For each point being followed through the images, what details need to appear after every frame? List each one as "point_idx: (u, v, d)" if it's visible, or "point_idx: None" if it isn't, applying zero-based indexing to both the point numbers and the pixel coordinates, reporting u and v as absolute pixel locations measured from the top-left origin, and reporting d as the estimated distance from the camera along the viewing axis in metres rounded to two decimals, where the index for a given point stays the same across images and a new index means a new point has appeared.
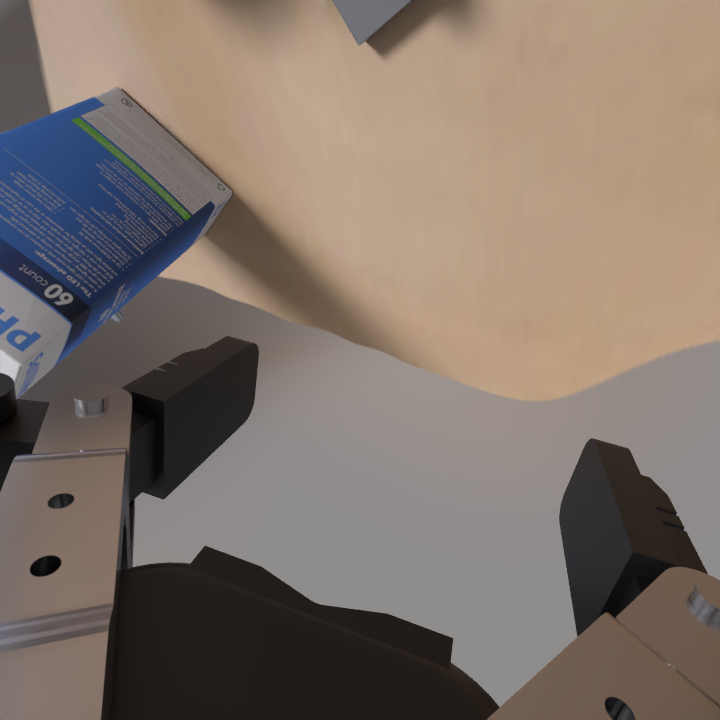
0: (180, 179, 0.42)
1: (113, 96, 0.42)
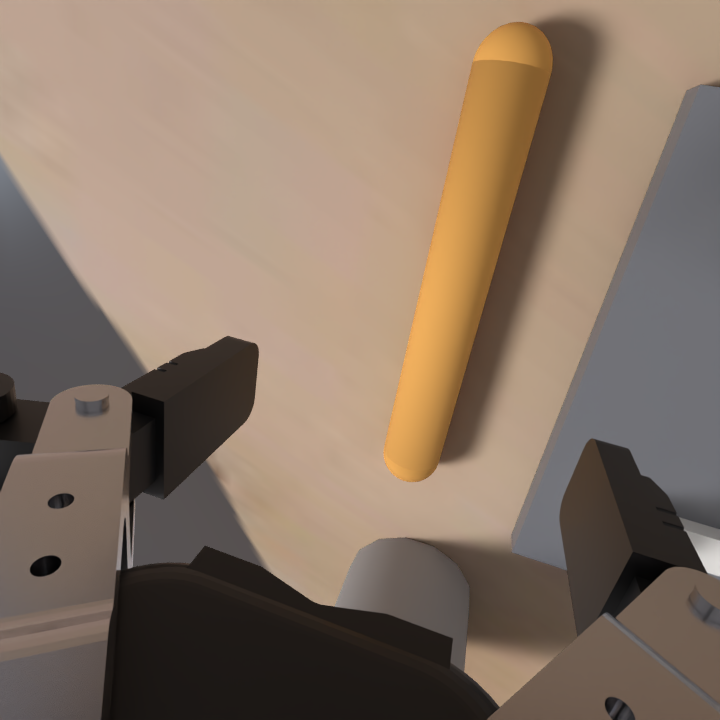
0: None
1: None
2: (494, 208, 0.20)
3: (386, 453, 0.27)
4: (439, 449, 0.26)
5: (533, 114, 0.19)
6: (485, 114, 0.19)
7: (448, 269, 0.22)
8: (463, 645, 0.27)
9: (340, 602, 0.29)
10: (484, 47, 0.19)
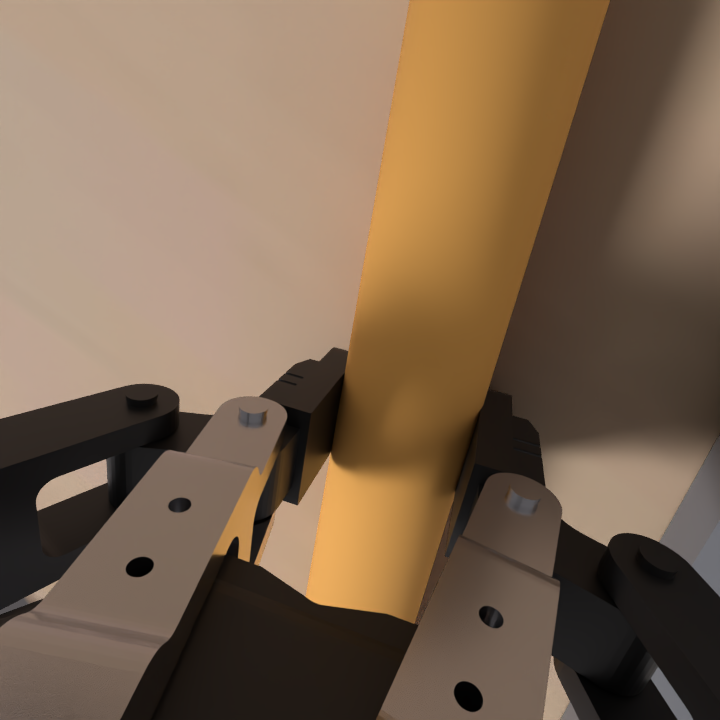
0: None
1: None
2: (487, 261, 0.08)
3: None
4: None
5: (592, 18, 0.07)
6: (463, 14, 0.07)
7: (384, 396, 0.10)
8: None
9: None
10: None
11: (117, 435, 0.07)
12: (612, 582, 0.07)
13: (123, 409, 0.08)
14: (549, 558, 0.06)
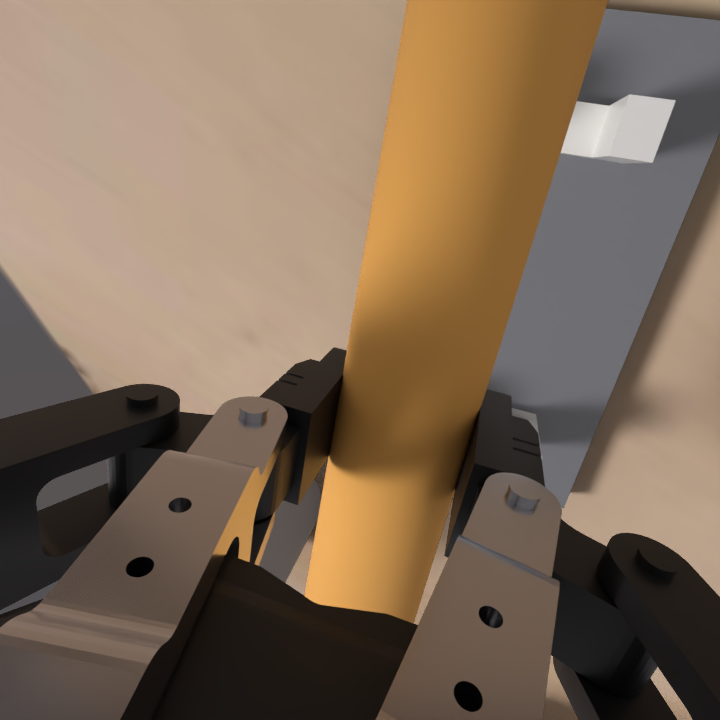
0: None
1: None
2: (484, 263, 0.08)
3: None
4: None
5: (589, 20, 0.07)
6: (460, 17, 0.07)
7: (381, 398, 0.10)
8: (294, 526, 0.30)
9: None
10: None
11: (117, 435, 0.07)
12: (612, 582, 0.07)
13: (123, 409, 0.08)
14: (549, 558, 0.06)
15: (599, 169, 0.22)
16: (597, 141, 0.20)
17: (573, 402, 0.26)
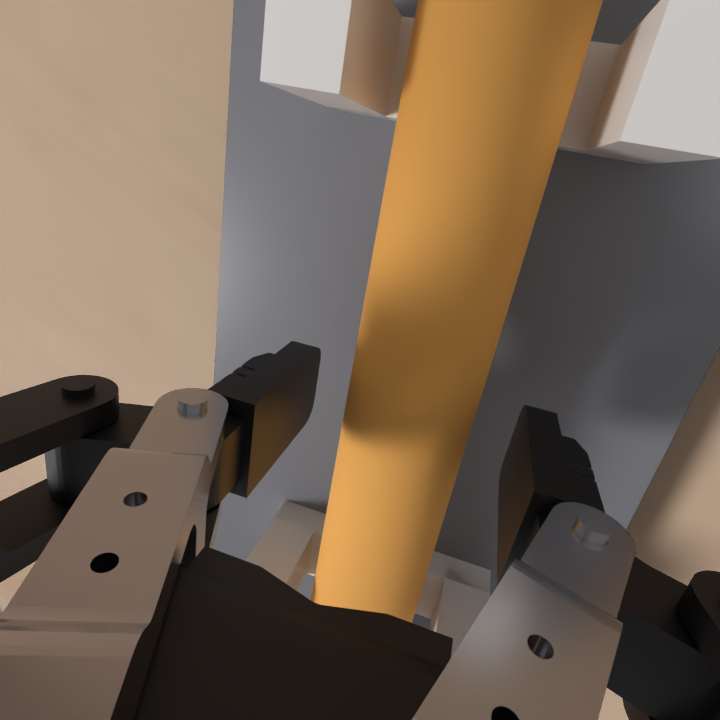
0: None
1: None
2: (486, 254, 0.09)
3: None
4: None
5: (581, 34, 0.08)
6: (463, 30, 0.08)
7: (390, 380, 0.10)
8: None
9: None
10: None
11: (58, 425, 0.07)
12: (692, 619, 0.06)
13: (60, 400, 0.08)
14: (615, 598, 0.06)
15: (599, 174, 0.11)
16: (595, 118, 0.10)
17: None
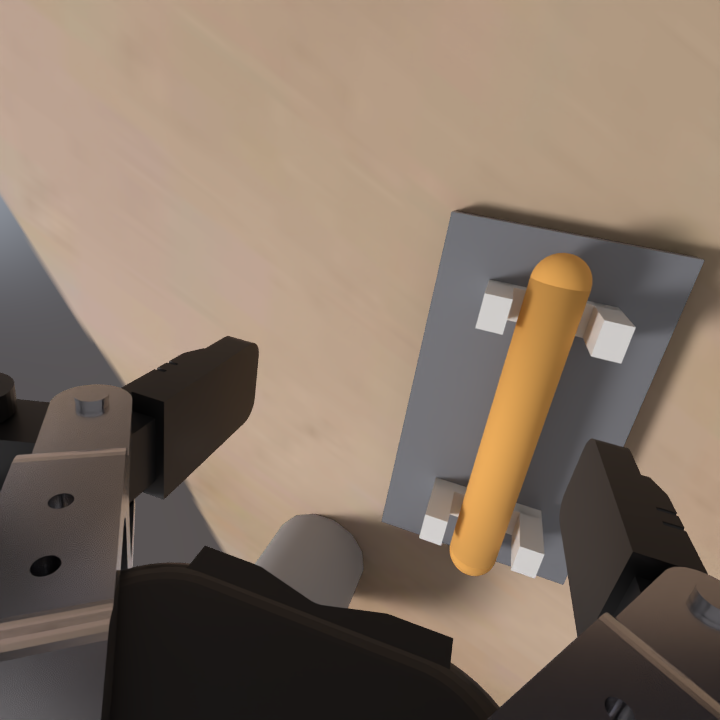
0: None
1: None
2: (546, 382, 0.27)
3: (453, 551, 0.33)
4: (497, 551, 0.32)
5: (578, 319, 0.26)
6: (541, 319, 0.26)
7: (509, 422, 0.28)
8: (344, 589, 0.38)
9: (259, 558, 0.39)
10: (540, 272, 0.25)
11: None
12: None
13: None
14: None
15: None
16: (586, 328, 0.28)
17: None
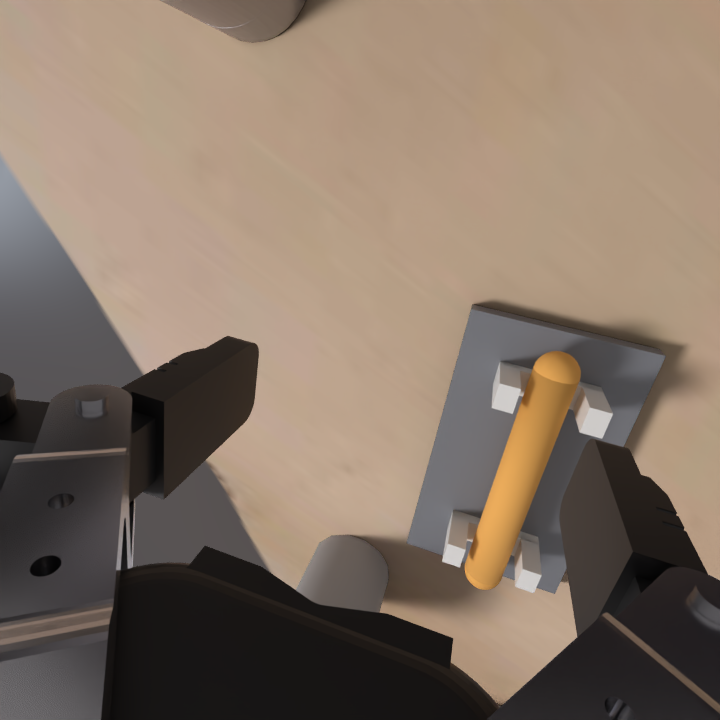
0: None
1: None
2: (544, 448, 0.35)
3: (467, 570, 0.41)
4: (503, 571, 0.40)
5: (569, 402, 0.34)
6: (541, 403, 0.34)
7: (515, 476, 0.36)
8: (376, 598, 0.46)
9: (304, 573, 0.47)
10: (541, 368, 0.33)
11: None
12: None
13: None
14: None
15: None
16: (575, 403, 0.36)
17: None
